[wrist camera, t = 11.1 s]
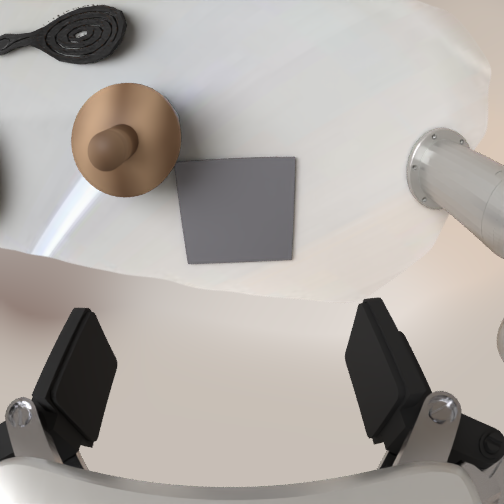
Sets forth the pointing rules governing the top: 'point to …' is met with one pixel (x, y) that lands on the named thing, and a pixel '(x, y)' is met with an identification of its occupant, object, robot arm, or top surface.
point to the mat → (237, 209)
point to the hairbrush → (98, 37)
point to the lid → (126, 139)
